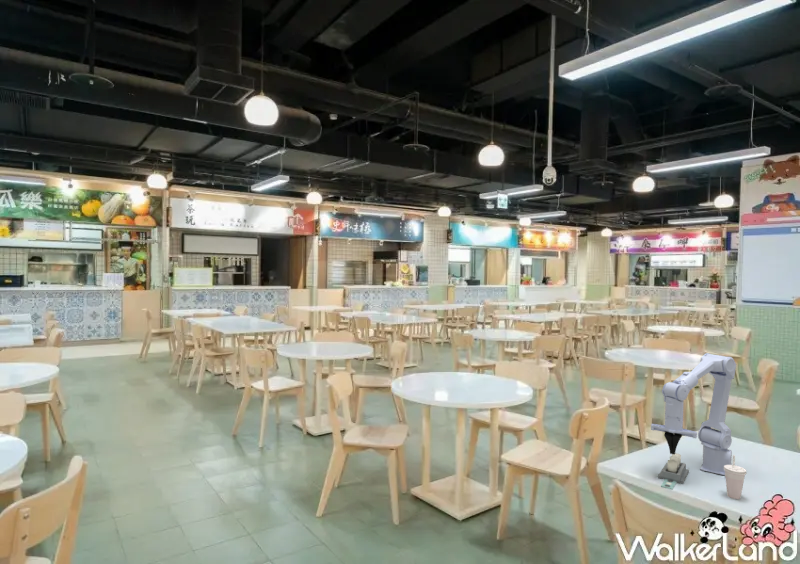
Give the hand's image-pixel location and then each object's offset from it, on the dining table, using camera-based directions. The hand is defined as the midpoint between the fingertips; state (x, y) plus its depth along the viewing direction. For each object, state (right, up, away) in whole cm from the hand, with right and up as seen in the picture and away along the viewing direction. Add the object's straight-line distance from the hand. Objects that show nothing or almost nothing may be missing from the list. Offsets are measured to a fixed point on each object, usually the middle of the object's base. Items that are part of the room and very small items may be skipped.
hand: (672, 453), depth 182 cm
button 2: (+5, -7, +7) cm, 11 cm away
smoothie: (+13, -10, -13) cm, 21 cm away
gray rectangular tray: (+2, -9, +4) cm, 10 cm away
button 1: (0, -7, 0) cm, 7 cm away
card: (-4, -9, -5) cm, 11 cm away
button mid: (+2, -7, +4) cm, 8 cm away
